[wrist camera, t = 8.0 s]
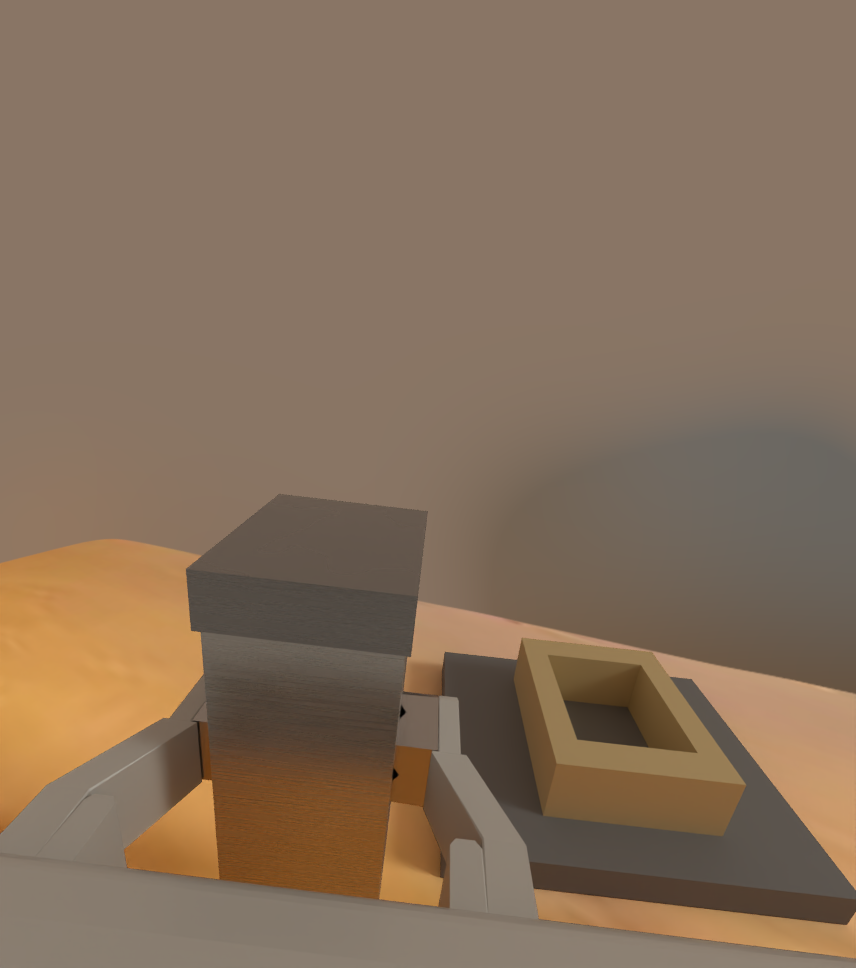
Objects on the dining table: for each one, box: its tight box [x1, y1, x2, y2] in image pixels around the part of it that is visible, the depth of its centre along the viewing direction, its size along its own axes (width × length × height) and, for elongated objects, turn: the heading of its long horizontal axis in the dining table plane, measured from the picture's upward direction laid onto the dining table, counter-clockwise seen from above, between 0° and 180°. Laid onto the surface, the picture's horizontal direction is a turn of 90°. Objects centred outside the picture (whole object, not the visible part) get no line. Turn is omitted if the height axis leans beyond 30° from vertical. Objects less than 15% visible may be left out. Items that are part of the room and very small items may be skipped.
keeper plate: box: [440, 638, 856, 925], centre depth 20 cm, size 16×11×4 cm
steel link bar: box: [186, 494, 428, 899], centre depth 10 cm, size 4×4×12 cm
